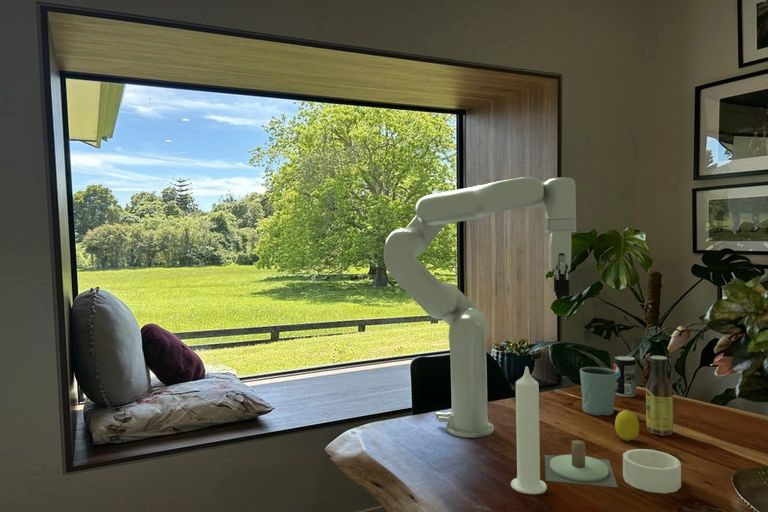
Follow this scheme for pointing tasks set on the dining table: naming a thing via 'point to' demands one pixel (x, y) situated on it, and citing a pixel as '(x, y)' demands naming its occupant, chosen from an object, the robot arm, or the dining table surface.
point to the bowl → (652, 470)
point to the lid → (579, 465)
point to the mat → (551, 476)
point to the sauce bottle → (659, 398)
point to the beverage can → (625, 376)
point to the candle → (528, 437)
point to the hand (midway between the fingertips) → (561, 294)
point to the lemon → (627, 425)
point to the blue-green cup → (598, 390)
